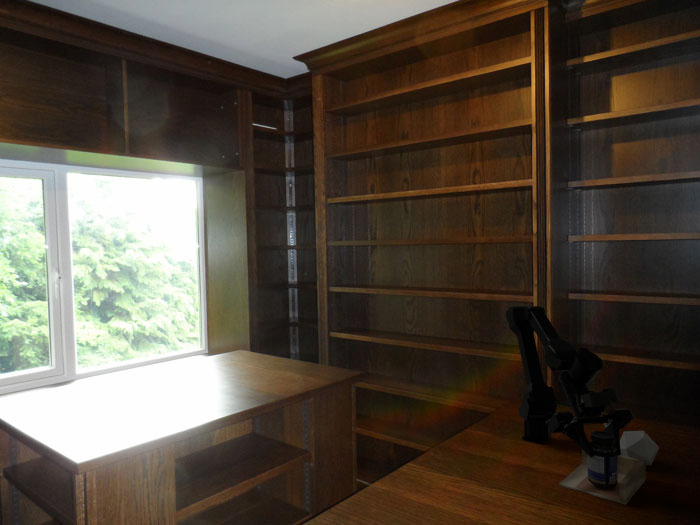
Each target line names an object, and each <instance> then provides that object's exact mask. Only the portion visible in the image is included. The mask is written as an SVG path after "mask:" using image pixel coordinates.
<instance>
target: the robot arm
mask: <svg viewBox="0 0 700 525" xmlns="http://www.w3.org/2000/svg"><path fill="white" fill-rule="evenodd" d="M544 308H545V307H543V306H541V305H532V306H531V305H514V306H513V305H511V306H509V307H508V309H507V310H506V312H505V319H506V321H507V324H508V327H509V330H511V331H512V333H513V334H514V335H515V336H516V339H517V343H518V348H519V354H520V358H521V362H522V364H521V365H522V368H523V374H524V377H525V382H526V383H525V384H526V386H525V388H524V391H523V394H522V397H523V399H522V402H521V404H520V405H519V407H518V415H519V417H521V418H522V419H523V432H524V433H523V435H522V437H521V440H525V441H529V442H532V443H536V444H542V445H545V444H546V443H547V442H549V441H550V440H552V439H553V436H552V434H562V436H563V437H567V438H569V439H570V440H571V441H572V442H574V444H576V445H577V446H578V447H579V448H580V449H581V451H582V450H583V451H584V452H586V453H587V454H588V455H589V456H590V457H591V458H593V457H594V453H593V450H592V448H591V445H590V441H589V439H588V437H587V434H586V432H585V428H584V425H597V424H598V425H600V424H602V425H603V427H604V429H603V431H604V432H608V433H611V434H613V436H614V442H613V445H614V446H615V447H616V448H617V456H619V455H621V449H620V439H621V437H620V430H622V429H624V428H626V427H627V426H628V425H629V424H630V423H631V422H632V421H633V420H634V418H635V416H634V415H633V412H632V411H631V410H630V409H629V408H627V407H620V408H619V407H618V408H617V407H616V408H612V409H611V410H610V411H609V412H608V413H607V414H602V413H604V412H605V411H606V407H613V404H614V403H617V401H618V397H617V394H616V392H615V390H614V389H613V388H610V387H609V388H605V389H604V388H603V389H602V391H597V392H596V391H595V390H590V386H589V384H590V383H591V382H592V381H593V380H594V378H595V377H596V376H597V375H598V373H599V372H600V371H601V369H602V368H603V365H604V364H603V360H602V358H601V357H599V356H598V355H597V354H596V353H594V352H592V351H589V349H588V347H579V348H578V349H576V348H574V347H573V345H572V344H571V343H569V342H567V341H566V340H564V339H562V337H561V336H560V334H559V333H558V331H557V330H556V328H555V326H554V325H553V324H552V322H551V321H550V319H549V318H548V316H547V315H546V310H545V309H544ZM534 333H535V334H534ZM535 335H536V337H537V338H538V340H539V341H540V343H541V345H542V346H543V348H544V351H545V352H544V356H543V357H544V360H545V362H546V366H547V367H548V368H549V370H550V371H551V372H562V373H561V374H560V375H558V380H557V381H556V386H557V387H561V388H562V390H563V392H564V395H565V396H566V399H567V401H566V407H567V408H570V409H571V411H572V412H571V411H557V408H558V403H557V399H556V397H555V392H554V389H553V388H554V387H553V386H549V385H548V384H547V383H546V382H545V380H544V376H543V372H542V366H541V362H540V356H539V352H538V348H537V342H536V338H535Z"/></svg>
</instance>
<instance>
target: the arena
mask: <svg viewBox="0 0 700 525" xmlns="http://www.w3.org/2000/svg"><path fill="white" fill-rule="evenodd" d="M646 471H647V465H646V461H644V460H639V459H635V458H631V457H627V456H622V455H621V454H620V455H619V456H617V481H618V483H617V485H616V486H614V487H599V486H596V485H594V484H592V483H591V482H590V481H589V480H588V454H587V453H586V452H584V451H583V450H582V449H581V464H580V465H579V466H578V467H576V468H575V469H574V470H572V472H570V473H569V474H568V475H567V476H566V477H565V478H564V479H563V480H561V481H560V482H559V483H558V485H559V487H564V488H567V489H569V490H570V489H571V490H575V491H577V492H580V493H584V494H587V495H590V496H594V497H598V498H601V499H604V500H608V501H610V502H614V503H615V502H616V503H618V504H621V505H627V504H628V503H629V502H630V500H631V499H632V497H633V496H634V495H635V494H636V493H637V491H638V490H639V489H640V488H641V486H642V485H643V484H644V483H645V482H646V480H647V477H646V475H647V472H646Z"/></svg>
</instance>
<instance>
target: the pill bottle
mask: <svg viewBox="0 0 700 525" xmlns="http://www.w3.org/2000/svg"><path fill="white" fill-rule="evenodd" d="M590 440H591V441H589V443H590V445H591V448H592V450H593V453H594V457H593V458H591V457H590V456H589V455H588V480H589V481H590V482H591V483H592V484H594V485H596V486H599V487H614V486H616V485H617V483H618V481H617V448H616V447H615V446H614V445H613V442H614V436H613V434H611V433H608V432H604V430H603V431H602V430H594V431H591V432H590Z"/></svg>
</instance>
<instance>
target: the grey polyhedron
mask: <svg viewBox="0 0 700 525" xmlns="http://www.w3.org/2000/svg"><path fill="white" fill-rule="evenodd" d="M620 449H621V454H620V455H622V456H627V457H631V458H635V459H639V460H644V461H646V466H652V464H653V462H654V460H655V458H656V455H657V453H658V451H659V449H660V447H659V446H658V445H657V444H656V442H655V441H654V440H653V439H652V438H651V437H650V436H649V434H647V433H646V432H645V430H626V431H623V433H622V435H621V437H620Z"/></svg>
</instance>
